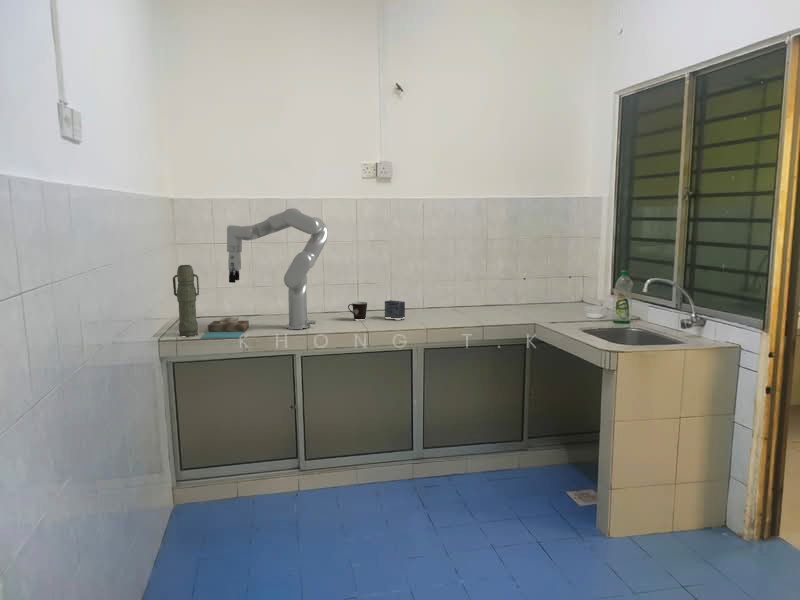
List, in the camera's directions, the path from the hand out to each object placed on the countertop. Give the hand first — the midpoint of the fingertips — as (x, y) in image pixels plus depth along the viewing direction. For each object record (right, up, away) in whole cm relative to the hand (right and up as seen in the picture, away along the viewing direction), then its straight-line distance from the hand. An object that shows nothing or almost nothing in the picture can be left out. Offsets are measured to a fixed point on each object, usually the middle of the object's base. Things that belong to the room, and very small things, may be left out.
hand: (234, 281), depth 300 cm
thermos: (-18, -28, -17) cm, 37 cm away
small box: (+85, -21, +27) cm, 92 cm away
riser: (-1, -26, -6) cm, 27 cm away
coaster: (-1, -22, -5) cm, 22 cm away
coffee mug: (+64, -21, +25) cm, 72 cm away
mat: (0, -28, -18) cm, 33 cm away
